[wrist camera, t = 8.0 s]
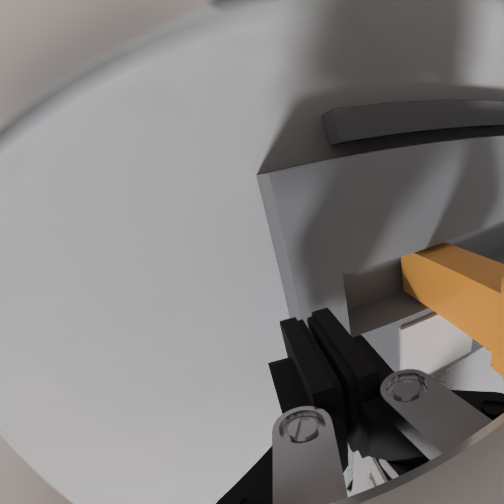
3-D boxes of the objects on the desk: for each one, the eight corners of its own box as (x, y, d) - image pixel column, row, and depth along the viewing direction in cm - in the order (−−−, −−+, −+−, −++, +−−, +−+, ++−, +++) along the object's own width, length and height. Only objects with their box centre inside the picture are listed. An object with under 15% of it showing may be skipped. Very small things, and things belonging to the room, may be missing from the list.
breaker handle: (428, 226, 14) (551, 266, 6) (432, 289, 15) (536, 354, 7) (398, 235, 14) (522, 285, 6) (404, 300, 15) (506, 378, 7)
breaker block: (535, 133, 16) (572, 132, 12) (542, 268, 19) (573, 281, 15) (256, 175, 15) (269, 173, 11) (303, 377, 18) (321, 422, 14)
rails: (507, 104, 15) (521, 102, 13) (518, 306, 19) (530, 312, 17) (322, 115, 14) (332, 108, 13) (365, 383, 18) (374, 397, 17)
